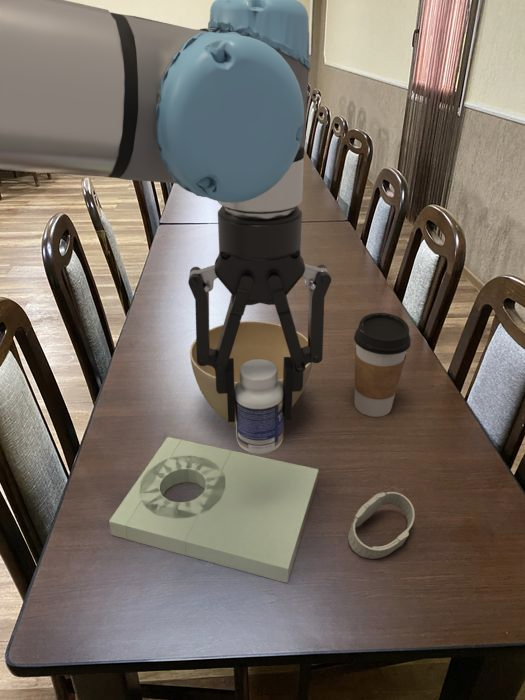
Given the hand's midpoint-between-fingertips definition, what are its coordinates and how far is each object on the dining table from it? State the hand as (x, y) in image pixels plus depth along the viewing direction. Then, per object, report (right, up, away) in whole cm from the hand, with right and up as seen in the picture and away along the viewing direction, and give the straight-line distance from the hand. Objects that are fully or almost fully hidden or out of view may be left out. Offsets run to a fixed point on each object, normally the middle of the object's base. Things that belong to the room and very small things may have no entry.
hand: (259, 413), depth 60 cm
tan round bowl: (-1, -3, +26) cm, 26 cm away
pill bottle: (0, -3, +2) cm, 4 cm away
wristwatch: (+15, -16, +6) cm, 22 cm away
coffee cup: (+18, -2, +28) cm, 33 cm away
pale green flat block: (-5, -13, +9) cm, 17 cm away
